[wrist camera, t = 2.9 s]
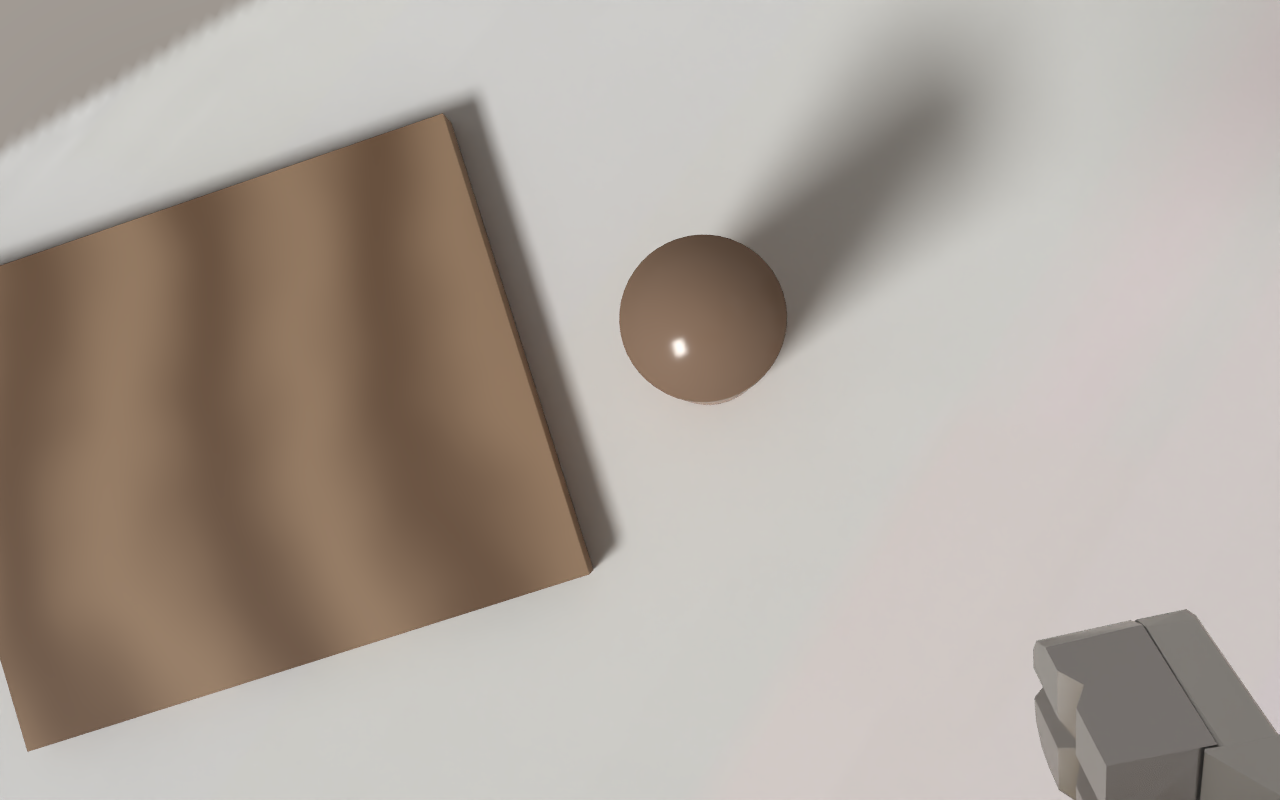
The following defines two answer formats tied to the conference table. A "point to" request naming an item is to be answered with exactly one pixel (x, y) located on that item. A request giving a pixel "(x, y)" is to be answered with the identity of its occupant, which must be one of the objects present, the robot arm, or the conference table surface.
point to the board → (264, 436)
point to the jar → (703, 318)
